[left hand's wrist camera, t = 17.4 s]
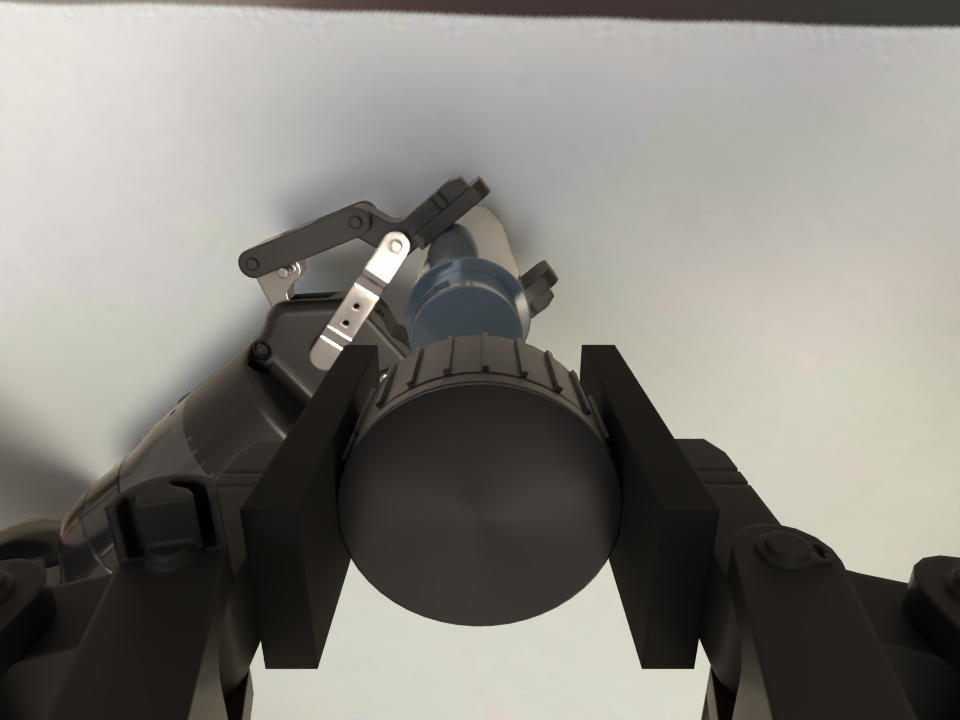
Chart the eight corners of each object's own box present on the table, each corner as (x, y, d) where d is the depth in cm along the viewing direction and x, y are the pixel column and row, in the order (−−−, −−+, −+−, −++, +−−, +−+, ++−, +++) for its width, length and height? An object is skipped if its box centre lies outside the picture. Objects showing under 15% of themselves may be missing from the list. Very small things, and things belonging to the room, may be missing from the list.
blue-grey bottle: (432, 202, 32) (397, 268, 17) (509, 206, 32) (544, 276, 17) (430, 277, 33) (396, 401, 18) (503, 281, 33) (531, 407, 18)
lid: (414, 572, 13) (401, 659, 11) (317, 379, 12) (279, 437, 9) (628, 506, 13) (660, 585, 10) (558, 294, 11) (578, 334, 9)
